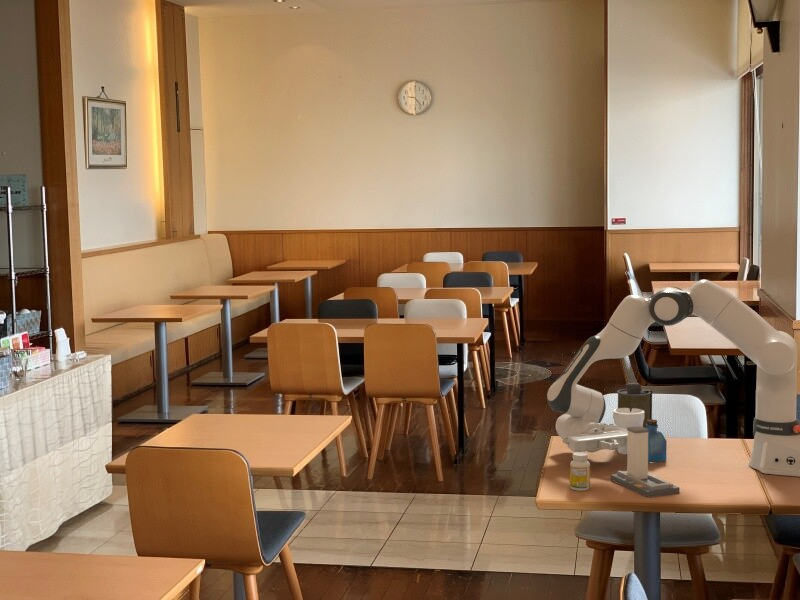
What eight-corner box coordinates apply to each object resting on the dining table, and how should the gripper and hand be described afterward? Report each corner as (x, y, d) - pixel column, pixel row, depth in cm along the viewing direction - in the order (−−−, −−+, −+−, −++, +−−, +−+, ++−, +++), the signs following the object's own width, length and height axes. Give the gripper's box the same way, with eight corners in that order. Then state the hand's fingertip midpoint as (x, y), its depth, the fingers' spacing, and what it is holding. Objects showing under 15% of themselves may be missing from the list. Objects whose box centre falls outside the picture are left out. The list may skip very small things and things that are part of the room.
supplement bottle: (582, 492, 278) (582, 457, 277) (566, 488, 282) (566, 454, 281) (594, 488, 282) (594, 453, 281) (578, 484, 286) (578, 450, 285)
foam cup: (641, 457, 314) (642, 414, 313) (611, 454, 317) (611, 413, 316) (645, 449, 323) (645, 408, 322) (615, 447, 326) (615, 407, 325)
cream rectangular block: (626, 476, 287) (627, 427, 286) (639, 474, 289) (640, 426, 287) (635, 480, 283) (635, 430, 282) (648, 478, 285) (648, 429, 283)
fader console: (611, 479, 290) (611, 471, 289) (641, 476, 293) (641, 467, 293) (647, 497, 273) (647, 488, 273) (679, 493, 276) (679, 483, 276)
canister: (624, 450, 322) (624, 387, 320) (611, 442, 333) (612, 381, 331) (657, 448, 324) (657, 385, 322) (643, 440, 334) (644, 379, 332)
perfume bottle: (654, 456, 315) (655, 417, 314) (666, 461, 309) (666, 421, 308) (637, 458, 313) (637, 419, 312) (648, 463, 307) (648, 423, 306)
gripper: (559, 429, 306) (583, 439, 293) (619, 423, 312) (645, 432, 300) (559, 450, 306) (583, 461, 293) (619, 443, 313) (645, 454, 300)
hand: (615, 447), depth 296 cm, fingers closed
